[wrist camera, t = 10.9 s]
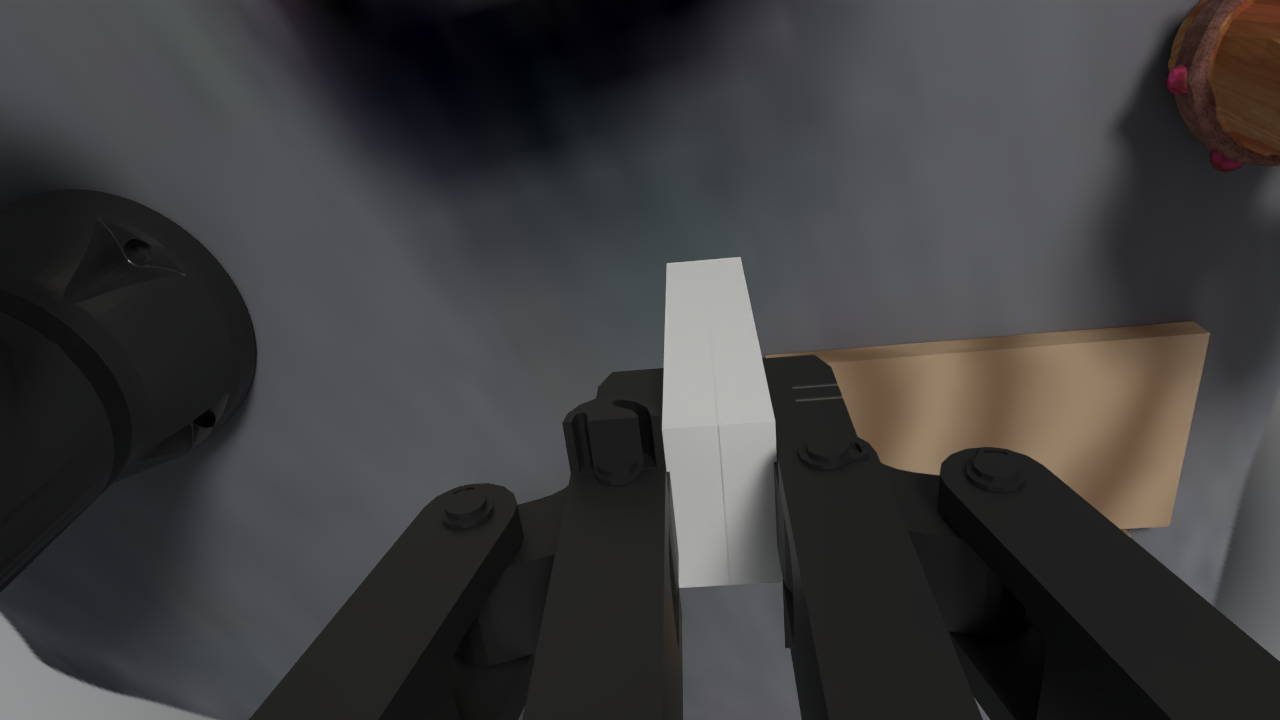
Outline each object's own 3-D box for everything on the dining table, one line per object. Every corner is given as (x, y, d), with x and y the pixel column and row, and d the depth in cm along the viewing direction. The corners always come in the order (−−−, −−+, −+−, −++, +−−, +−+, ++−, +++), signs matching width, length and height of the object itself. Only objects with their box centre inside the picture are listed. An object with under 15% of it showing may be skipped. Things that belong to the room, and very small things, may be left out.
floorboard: (773, 536, 50) (776, 552, 48) (765, 355, 44) (767, 367, 43) (1154, 512, 48) (1168, 529, 47) (1193, 321, 43) (1210, 333, 41)
